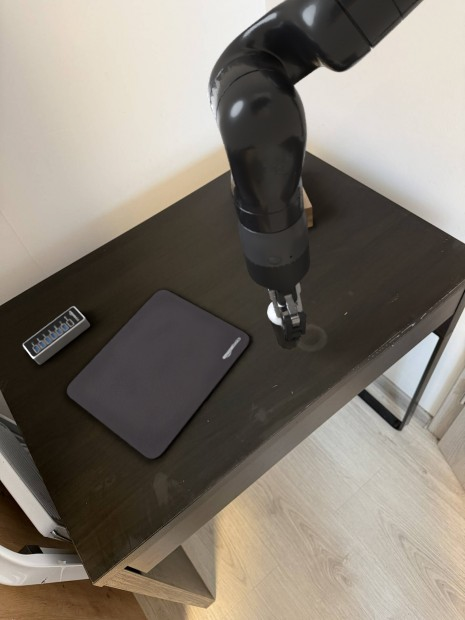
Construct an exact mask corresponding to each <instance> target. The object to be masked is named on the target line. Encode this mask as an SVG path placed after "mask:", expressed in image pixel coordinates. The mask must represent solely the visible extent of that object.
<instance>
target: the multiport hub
mask: <svg viewBox="0 0 465 620" xmlns="http://www.w3.org/2000/svg"><path fill="white" fill-rule="evenodd" d="M90 327H91V324H90V322H89V321H88V320H87V318H86V317H85V316H84V315H83V314H82V312H80V310H79V309H78V308H77V307H76V306H75V305H73V306H71V307H69V308H68V309H67V310H66V311H64V312H63V313H61V314H60V315H59V316H57V317H56V318H55V319H54V320H52V321H51V322H49V323H48V324H47V325H46V326H43V328H41V329H40V330H39V331H38V332H36V333H35V334H34V335H32V336H31V337H29V338H28V339H27V340H26V341H25V342H23V343H22V347H23V349H24V350H25V351H26V352H27V353H28V355H29V356H30V357H31V358H32V360H34V361H35V362H36V363H37V364H38V365H42V364H44V363H45V362H46V361H48V360H49V359H50V358H52V357H53V356H54V355H56V353H58V352H59V351H60V350H62V349H63V348H64V347H66V346H67V345H68V344H70V342H71V343H72V341H73V340H74V339H76V338H77V337H78V336H80V335H81V334H82V333H83V332H85V331H86V330H88V328H90Z"/></svg>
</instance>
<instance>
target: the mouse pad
mask: <svg viewBox="0 0 465 620" xmlns="http://www.w3.org/2000/svg"><path fill="white" fill-rule="evenodd" d="M249 344H250V336H249V335H248V334H247V333H246V332H245V331H244V330H241V329H239V328H237V327H235V326H234V325H232V324H230V323H228V322H226V321H224V320H223V319H221V318H219V317H217V316H215V315H213V314H212V313H210V312H208V311H206V310H204V309H203V308H201V307H199V306H198V305H195V304H194V303H192V302H190V301H189V300H186V299H184V298H182V297H181V296H179V295H177V294H175V293H173V292H171V291H170V290H167V289H160V290H158V291H156V292H155V293H154V294H153V295H152V296H151V297H150V298H149V299H148V300H147V301H146V302H145V303H144V304H143V306H142V307H141V308H139V310H137V312H136V313H135V314H134V315H133V316H132V317H131V318H130V319H129V320H128V321H127V322H126V323H125V324H124V326H123V327H122V328H121V329H120V330H119V331H118V332H117V333H116V334H115V335H114V336H113V337H112V338H111V339H110V341H109V342H107V343H106V345H104V346H103V348H102V349H100V351H99V352H98V353H97V354H96V355H95V356H94V357H93V359H92V360H90V362H89V363H88V364H87V365H86V366H85V367H84V368H83V369H82V370H81V371H80V372H79V373H78V375H76V376H75V377H74V378H73V380H72V381H71V382H70V383H69V384H68V386H67V388H66V394H67V395H68V397H69V398H70V399H71V400H73V401H74V402H75V403H77V404H78V405H79V406H80V407H82V408H83V409H84V410H85V411H87V412H88V413H89V414H90V415H92V416H93V417H94V418H95V419H97V420H98V421H99V422H101V423H102V424H103V425H104V426H105V427H107V428H108V429H109V430H110V431H112V432H113V433H115V434H116V435H117V436H118V437H120V439H122V440H124V441H125V442H126V443H128V445H129V446H130V447H132V448H134V449H135V450H136V451H137V452H139V453H140V454H141V455H142V456H143V457H145V458H147V459H149V460H155V459H157V458H159V457H160V456H162V455H163V454H164V452H165V451H166V450H167V449H168V447H169V446H170V445H171V444H172V443H173V441H174V440H175V438H176V437H177V436H178V435H179V433H180V432H181V431H182V430H183V428H184V427H186V425H187V423H188V422H189V421H190V420H191V418H192V417H193V416H194V414H196V412H197V411H198V409H199V408H200V407H201V406H202V405H203V403H204V402H205V401H206V399H207V398H208V397H209V396H210V395H211V393H212V392H213V391H214V389H215V388H216V387H217V385H218V384H219V383H220V382H221V380H223V378H224V377H225V376H226V374H227V372H228V371H229V370H230V369H231V368H232V367H233V365H234V364H235V363H236V361H237V360H238V359H239V357H240V356H241V355H242V353H243V352H244V351H245V350H246V349H247V347H248V346H249Z"/></svg>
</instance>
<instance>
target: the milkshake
mask: <svg viewBox="0 0 465 620" xmlns="http://www.w3.org/2000/svg"><path fill="white" fill-rule="evenodd" d="M277 303H278V302H277ZM278 306H279V307H282V306H281V305H279V304H278ZM266 313H267V318H268V319H269V322H270V325H271V327H272V330H273V333H274V335H275V339H276V342H277V345H278V346H280V347H281V348H282V349H283V350H292V349H295V348H297V346H298V345H299V343H300V339H301V337H300V338H299V340H296V341H292V342H287V341H285V338H284V333H283V328H282V327H281V320H280V318H278V317H277V316H276V313H275V311H274V307H273V302H272V301H271V302H270V304H269V305H268V306H267V312H266Z"/></svg>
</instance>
